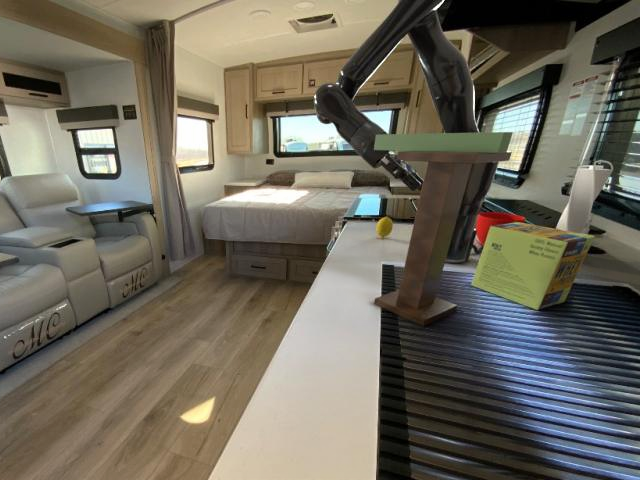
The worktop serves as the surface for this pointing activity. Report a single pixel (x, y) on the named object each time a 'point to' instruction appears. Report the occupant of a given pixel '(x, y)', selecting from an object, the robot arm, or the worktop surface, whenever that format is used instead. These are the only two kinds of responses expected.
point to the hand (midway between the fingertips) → (421, 188)
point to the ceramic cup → (493, 223)
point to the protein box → (530, 263)
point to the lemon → (384, 227)
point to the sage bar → (445, 142)
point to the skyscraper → (583, 197)
